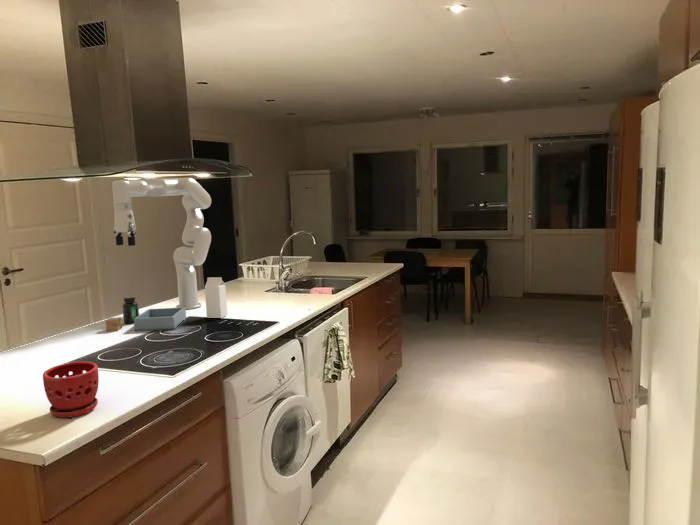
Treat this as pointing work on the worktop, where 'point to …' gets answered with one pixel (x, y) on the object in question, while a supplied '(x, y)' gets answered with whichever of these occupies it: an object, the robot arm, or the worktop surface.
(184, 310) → the box
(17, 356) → the worktop surface
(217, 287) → the milk carton
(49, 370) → the plant pot
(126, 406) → the worktop surface
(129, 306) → the supplement bottle
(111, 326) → the tan wooden block
